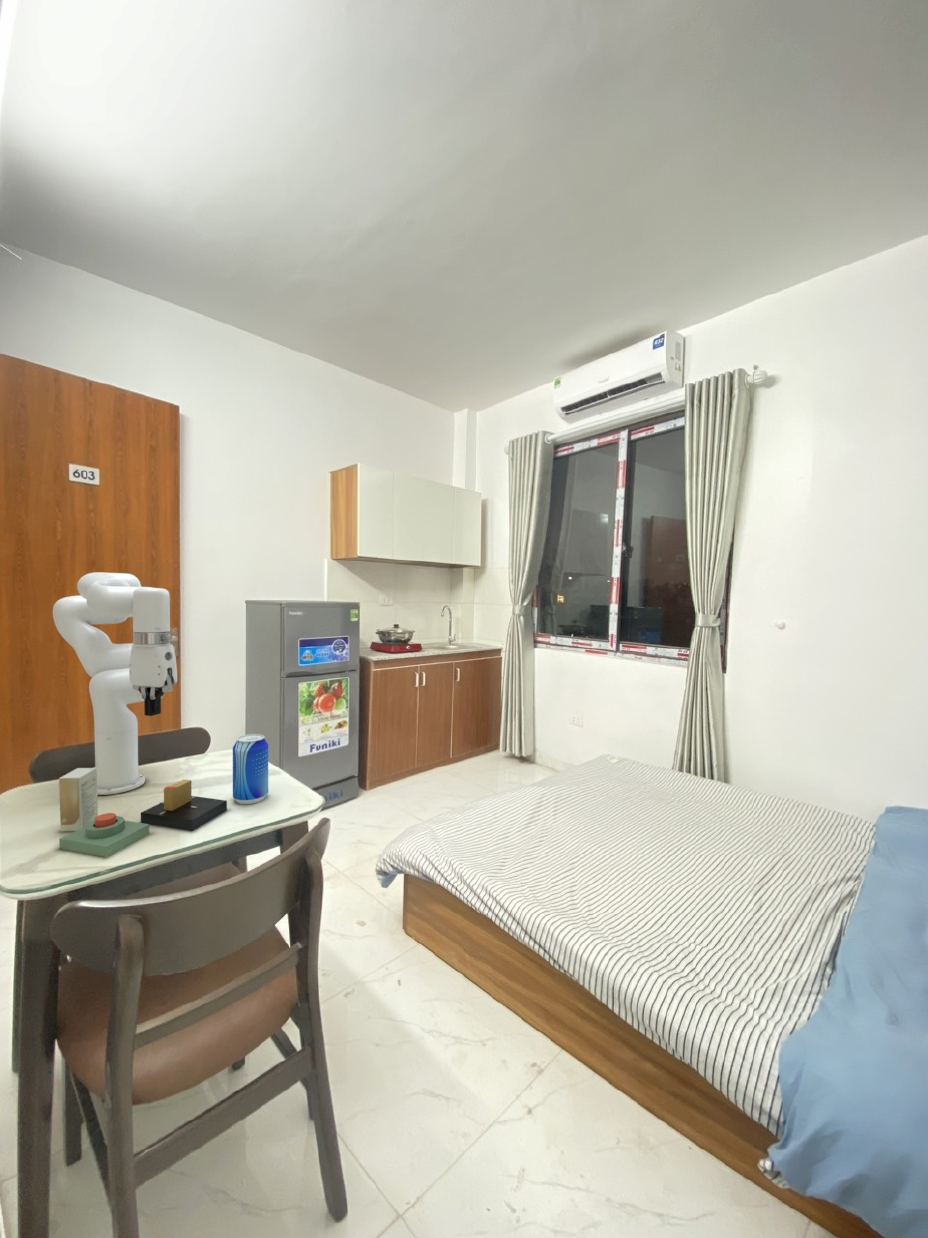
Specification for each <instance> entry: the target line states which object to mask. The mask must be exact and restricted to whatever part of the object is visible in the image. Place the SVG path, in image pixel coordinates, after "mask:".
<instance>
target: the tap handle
mask: <svg viewBox="0 0 928 1238" xmlns="http://www.w3.org/2000/svg"><path fill="white" fill-rule="evenodd" d="M192 796H193V795H192V779H181V780H180V781H177V782H175V783H173V784H171V785H167V786H165V787H164V788H163V802H164V810H169V811H173V810H175V809H177V808H178V807H180V806H182V805H184V804H186V803H188V802H190V801H191V800H192Z"/></svg>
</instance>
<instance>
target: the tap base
mask: <svg viewBox="0 0 928 1238" xmlns="http://www.w3.org/2000/svg"><path fill="white" fill-rule="evenodd" d="M191 796H192V800H191V801H190V802H188V803H186V804H184V805H182V806H180V807H178V808H177V809H175V810H173V811H169V810H164V801H159V803H157V804H156V805H153V806H151V807H150V808H147V809H145V810H144V811H141V812H140V823H144V824H149V826H156V827H162V828H163V827H165V828H170V829H177V830H183V831H189V832H193V831H194V832H195V830H198V828H200V827H202V826H204V825H205V824H207V823H209V822H211V821H212V820H213V819H216V818H217V817H218V816H220V815H222V814H223V813H225V812H227V811H228V800H225V799H218V798H211V797H205V796H198V795H191Z"/></svg>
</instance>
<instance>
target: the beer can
mask: <svg viewBox="0 0 928 1238" xmlns="http://www.w3.org/2000/svg"><path fill="white" fill-rule="evenodd" d="M268 793H269V743H268V741H267V740H266V738H265V735H264V734H260V733H247V734H243V735H240V736H238V737H236V741H235V743H234V744H233V747H232V798H233V799H234V800H235V802H236V803H237V804H240V805H252V804H256V803H259V802H262V801H263V800H265V798H266V796H267V795H268Z"/></svg>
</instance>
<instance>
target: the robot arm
mask: <svg viewBox="0 0 928 1238" xmlns="http://www.w3.org/2000/svg"><path fill="white" fill-rule="evenodd" d="M76 589H77V592H78V594H79V595H70V596H65V597H61V598H59V599H58V600H57V601H56V602H55V603H54V604H53V607H52V618H53V623H54V625H55V627H56V630H57V631H58V633H59V635H60V636H61V637H62V638H63V640H64V641H66V642H67V643H68V644H69V646H71V648H72V649H73V650H74V652H75V654H76V656H77V657H78V659H79V662H80V663H81V666H82V667H83V669H84V671H85V672H86V674H87V675H88V676H89V677H90V678H91V679H90V681H89V683H88V685H89V686H88V691H89V696H90V700H91V705H92V710H93V724H94V727H93V728H94V730H93V731H94V767H93V768H97V796H107V795H108V796H109V795H115V794H123V793H124V792H129V791H132V790H135V789H137V788H139V787H141V786H143V785H144V783H145V782H146V776H145V775H143V774H140V773H139V722H138V717H137V715H136V714H135V713H134V712H133V711H132V710H130V709H129V707H128V705H130V704H136V703H143V702H144V703H143V704H144V706H143V708H144V709H143V711H144V713H143V715H144V716H148V717H153V716H156V715H160V714H161V713H162V699H163V697H164V695H165V694H166V693H169V692H173V690H174V688H173V685H175V684H177V682H178V665H177V657H176V651H175V647H174V645H173V644H171V641H172V640H173V636H172V635H171V596H170V591H169V590H168V589H166V588H162V587H152V586H142V584H141V581H140V580H139V578H137V576H135V575H134V574H131V573H126V572H125V573H124V572H121V573H120V572H103V571H102V572H100V571H99V572H98V571H96V572H95V571H94V572H89V573H86V574H84V575H83V576H81V577H80V578H79V579H78V582H77V584H76ZM128 618H132V643H131V642H130V643H128V642H127V643H113V642H112V641H111V638H110V637H109V636H108V634H106V633H105V632H104V631H103V630H102V629H100V628H98V627H95V626H93V625H116V624H122V623H123V622H125V621H127V619H128Z"/></svg>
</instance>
